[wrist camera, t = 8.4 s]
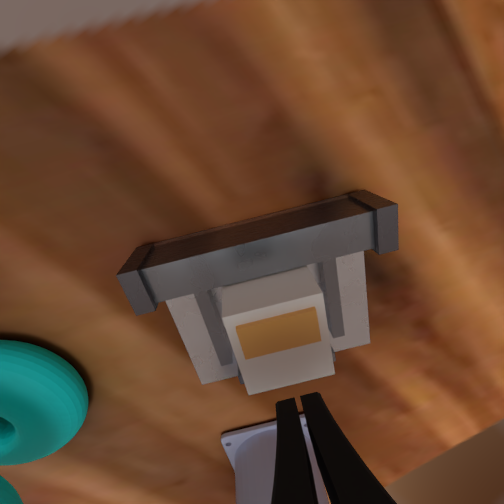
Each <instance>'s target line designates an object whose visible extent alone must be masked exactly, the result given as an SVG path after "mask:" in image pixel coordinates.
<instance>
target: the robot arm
mask: <svg viewBox="0 0 504 504" xmlns="http://www.w3.org/2000/svg"><path fill="white" fill-rule="evenodd" d="M300 398H301V402H302V406H303V410H304V414H301V415H299V413H298V409H297V406H296V402H295V398H290V399H286V400H282V401H278V402H277V403H276V404H275V405H276V416H277V421H273V422H269V423H265V424H260V425H256V426H252V427H248V428H244V429H240V430H236V431H232V432H228V433H224V434H223V435H222V436H221V443H222V445H223V447H224V449H225V452H226V454H227V456H228V458H229V460H230V463H231V465H232V467H233V469H234V471H235V487H236V504H329V501H328V497H327V494H326V490H327V493H328V496H329V499H330V502H331V504H397V503H396V502H395V501H394V500H393V499H392V497H391V496H390V495H389V494H388V492H387V491H386V490H385V489H384V487H383V486H382V485H381V484H380V482H379V481H378V480H377V479H376V477H375V476H374V475H373V474H372V472H371V471H370V470H369V468H368V467H367V466H366V464H365V463H364V462H363V460H362V459H361V458H360V456H359V455H358V453H357V452H356V451H355V449H354V448H353V446H352V445H351V444H350V442H349V441H348V439H347V438H346V437H345V435H344V434H343V432H342V431H341V429H340V428H339V426H338V424H337V423H336V421H335V420H334V418H333V416H332V415H331V413H330V411H329V410H328V408H327V406H326V404H325V402H324V401H323V399H322V397H321V394H320V393H318V392H314V393H310V394H306V395H302V396H300ZM322 479H323V480H322ZM323 482H324V483H323ZM324 485H325V487H326V490H325V487H324Z"/></svg>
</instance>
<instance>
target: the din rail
mask: <svg viewBox="0 0 504 504" xmlns="http://www.w3.org/2000/svg"><path fill="white" fill-rule="evenodd" d="M369 249H373V250H374V251H375V252H376V253H378V254H383V253H387V252H391V251H395V250H398V204H397V203H394V202H392V201H390V200H387V199H385V198H383V197H380V196H378V195H376V194H373V193H371V192H369V191H366V190H361V191H357V192H353V193H349V194H346V195H342V196H338V197H334V198H330V199H326V200H322V201H319V202H315V203H311V204H307V205H303V206H299V207H295V208H291V209H287V210H283V211H279V212H275V213H271V214H267V215H263V216H259V217H256V218H252V219H248V220H244V221H240V222H236V223H232V224H228V225H224V226H220V227H216V228H212V229H208V230H204V231H200V232H196V233H193V234H189V235H185V236H181V237H177V238H173V239H169V240H165V241H161V242H157V243H152V244H149V245H145V246H141V247H137V248H136V249H135V250H134V252H133V253H132V254H131V256H130V257H129V259H128V260H127V261H126V263H125V264H124V265H123V267H122V268H121V269H120V271H119V272H118V273H117V275H116V276H117V278H118V280H119V282H120V284H121V286H122V288H123V290H124V292H125V294H126V296H127V298H128V300H129V302H130V304H131V306H132V308H133V310H134V312H135V314H136V316H137V315H141V314H145V313H149V312H153V311H156V308H157V305H158V303H159V302H162V301H166V303H167V305H168V308H169V310H170V312H171V315H172V317H173V319H174V321H175V324H176V326H177V328H178V331H179V333H180V335H181V337H182V340H183V342H184V344H185V347H186V349H187V351H188V353H189V356H190V358H191V360H192V363H193V365H194V367H195V370H196V372H197V374H198V376H199V379H200V381H201V383H202V385H203V384H207V383H211V382H215V381H219V380H223V379H227V378H231V377H235V376H238V378H239V381H240V383H241V384H244V380H243V377H242V374H241V372H240V369H239V366H238V363H237V360H236V357H235V354H234V351H233V348H232V345H231V343H230V340H229V337H228V334H227V331H226V328H225V325H224V322H223V319H222V286H226V285H230V284H234V283H238V282H242V281H246V280H250V279H254V278H258V277H262V276H266V275H270V274H273V273H277V272H281V271H285V270H289V269H293V268H297V267H301V266H305V265H306V266H307V267H308V269H309V271H310V272H311V274H312V276H313V277H314V279H315V281H316V282H317V284H318V286H319V287H320V289H321V291H322V292H323V298H324V304H325V311H326V318H327V324H328V331H329V337H330V344H331V351H332V357H333V361H336V359H335V352H336V351H340V350H344V349H348V348H352V347H356V346H360V345H364V344H368V343H370V333H369V319H368V305H367V291H366V278H365V264H364V251H365V250H369Z"/></svg>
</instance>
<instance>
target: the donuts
mask: <svg viewBox="0 0 504 504" xmlns="http://www.w3.org/2000/svg"><path fill="white" fill-rule="evenodd" d="M88 403H89V401H88V392H87V388H86V386H85V383H84V381H83V379H82V378H81V376H80V375H79V373H78V372H77V371H76V370H75V368H74V367H73V366H72V365H70V364H69V363H68V362H67V361H66V360H64V359H63V358H61V357H60V356H58V355H57V354H55V353H53V352H51V351H49V350H47V349H45V348H42V347H39V346H36V345H33V344H29V343H25V342H19V341H12V340H0V465H16V464H23V463H27V462H31V461H34V460H37V459H40V458H43V457H45V456H48V455H50V454H52V453H53V452H55V451H57V450H58V449H60V448H61V447H63V446H64V445H65V444H67V443H68V442H69V441H70V440H71V439H72V438H73V437H74V436H75V435H76V433H77V432H78V431H79V429H80V428H81V426H82V424H83V422H84V420H85V418H86V415H87V410H88ZM0 504H23V502H22V500H21V498H20V496H19V494H18V493H17V491H16V490H15V489H14V487H13V486H12V485H11V484H10V483H9V482H8V481H7V480H5V479H4V478H3V477H2V476H0Z"/></svg>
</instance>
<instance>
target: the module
mask: <svg viewBox="0 0 504 504" xmlns="http://www.w3.org/2000/svg"><path fill="white" fill-rule="evenodd" d="M222 319H223V322H224V325H225V328H226V331H227V334H228V337H229V340H230V343H231V345H232V348H233V351H234V354H235V357H236V360H237V363H238V366H239V369H240V372H241V374H242V377H243V380H244V383H245V386H246V389H247V392H248V395H252V394H257V393H261V392H265V391H269V390H273V389H277V388H281V387H285V386H289V385H293V384H297V383H301V382H305V381H309V380H313V379H317V378H321V377H325V376H329V375H333V374H335V371H334V364H333V357H332V351H331V344H330V337H329V331H328V324H327V318H326V311H325V304H324V298H323V292H322V291H321V289H320V287H319V286H318V284H317V282H316V281H315V279H314V277H313V276H312V274H311V272H310V271H309V269H308V267H307V266H306V265H305V266H301V267H297V268H293V269H289V270H285V271H281V272H277V273H273V274H270V275H266V276H262V277H258V278H254V279H250V280H246V281H242V282H238V283H234V284H230V285H226V286H222Z"/></svg>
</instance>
